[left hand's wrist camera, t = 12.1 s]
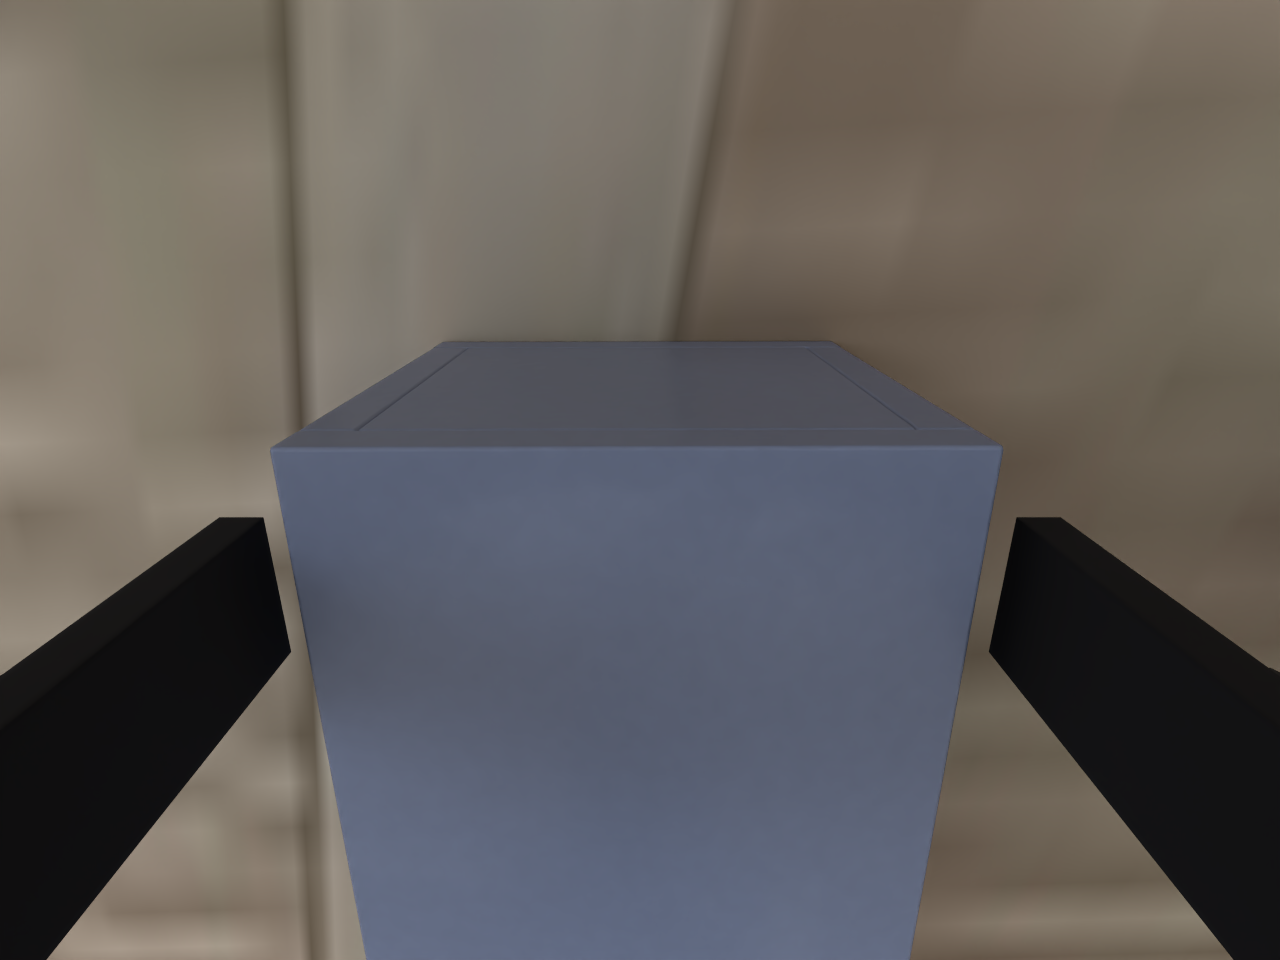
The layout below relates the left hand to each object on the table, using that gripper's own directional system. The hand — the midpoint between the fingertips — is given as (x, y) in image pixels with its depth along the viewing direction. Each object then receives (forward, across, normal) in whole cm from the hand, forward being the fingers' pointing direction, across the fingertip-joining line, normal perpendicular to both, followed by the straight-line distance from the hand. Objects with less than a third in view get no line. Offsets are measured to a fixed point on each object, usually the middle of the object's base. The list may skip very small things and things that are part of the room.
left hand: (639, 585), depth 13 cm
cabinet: (+8, 0, -5) cm, 10 cm away
